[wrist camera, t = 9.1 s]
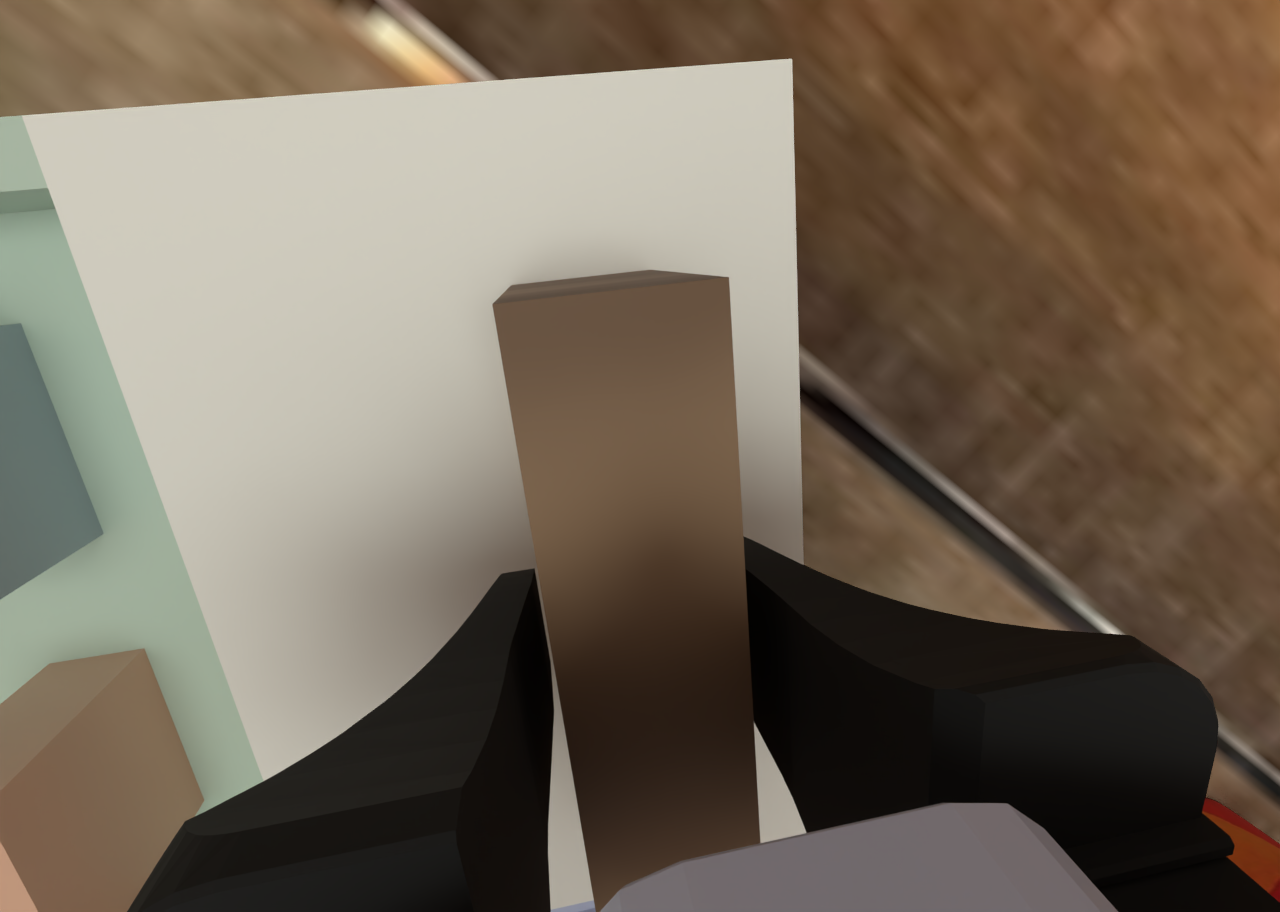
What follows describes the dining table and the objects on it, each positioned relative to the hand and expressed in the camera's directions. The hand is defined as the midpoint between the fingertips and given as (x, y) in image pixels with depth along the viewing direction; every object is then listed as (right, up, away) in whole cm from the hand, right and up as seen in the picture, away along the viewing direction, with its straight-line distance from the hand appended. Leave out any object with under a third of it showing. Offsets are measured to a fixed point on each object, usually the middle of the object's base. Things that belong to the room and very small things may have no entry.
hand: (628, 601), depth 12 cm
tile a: (-11, -4, +1) cm, 12 cm away
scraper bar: (0, 0, +1) cm, 1 cm away
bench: (-3, +1, +4) cm, 5 cm away
